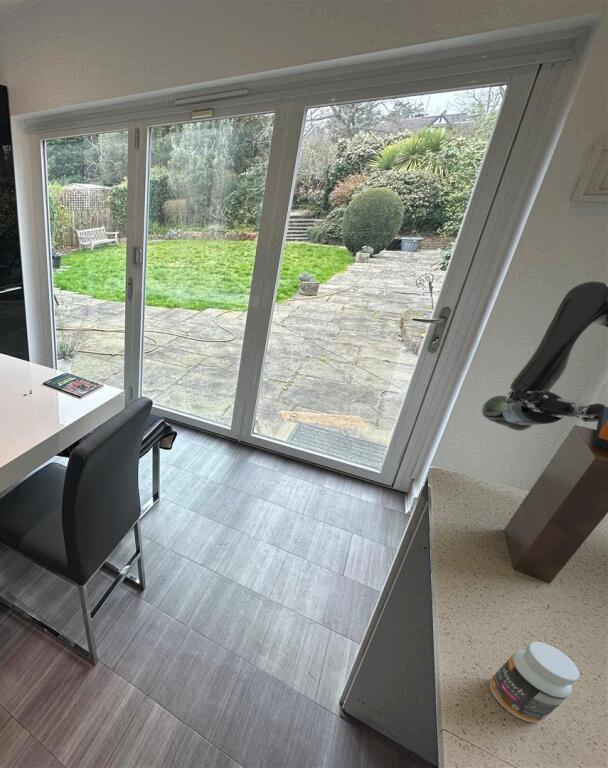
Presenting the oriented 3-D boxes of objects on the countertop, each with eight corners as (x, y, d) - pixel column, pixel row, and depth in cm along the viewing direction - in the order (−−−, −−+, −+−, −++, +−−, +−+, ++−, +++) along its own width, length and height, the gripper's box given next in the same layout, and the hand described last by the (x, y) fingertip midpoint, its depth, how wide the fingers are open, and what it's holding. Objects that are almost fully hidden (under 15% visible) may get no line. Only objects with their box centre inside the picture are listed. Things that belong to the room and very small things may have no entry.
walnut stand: (536, 540, 82) (615, 434, 70) (550, 583, 74) (643, 470, 62) (503, 529, 85) (574, 424, 73) (513, 569, 76) (595, 457, 64)
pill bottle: (478, 674, 60) (511, 633, 55) (521, 681, 59) (559, 640, 54) (507, 720, 55) (547, 680, 50) (554, 728, 54) (599, 688, 49)
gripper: (500, 384, 100) (529, 375, 86) (583, 402, 92) (628, 395, 78) (490, 413, 100) (516, 408, 86) (571, 434, 93) (614, 432, 79)
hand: (570, 402), depth 82 cm, fingers open, 8 cm apart
